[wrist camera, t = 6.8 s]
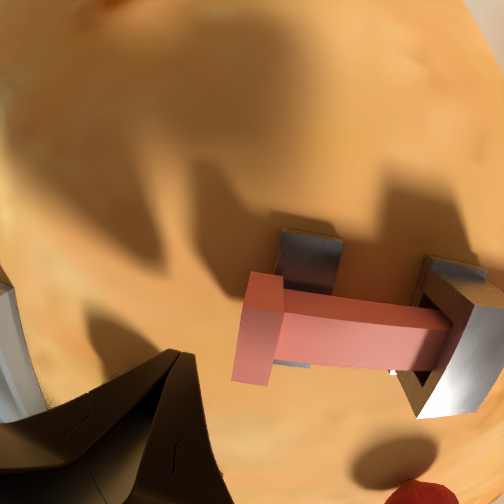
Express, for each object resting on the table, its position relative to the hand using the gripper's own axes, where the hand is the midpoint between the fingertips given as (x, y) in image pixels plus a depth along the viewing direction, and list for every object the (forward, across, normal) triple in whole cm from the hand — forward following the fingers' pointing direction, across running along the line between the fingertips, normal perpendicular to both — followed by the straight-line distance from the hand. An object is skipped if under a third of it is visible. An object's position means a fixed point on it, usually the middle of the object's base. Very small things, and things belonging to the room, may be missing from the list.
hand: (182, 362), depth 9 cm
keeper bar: (+3, -10, -2) cm, 10 cm away
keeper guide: (+3, -7, -1) cm, 7 cm away
